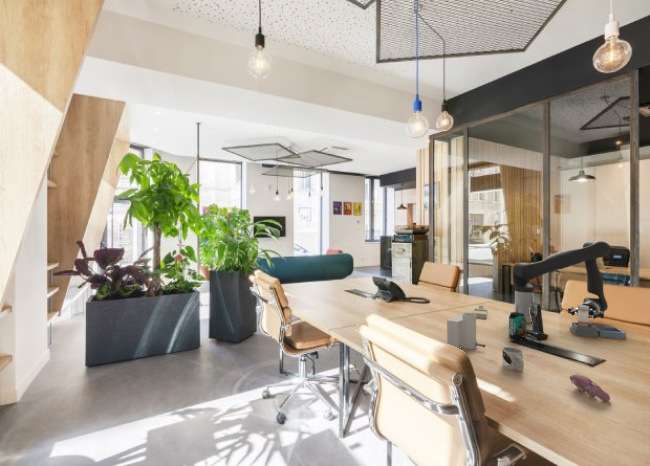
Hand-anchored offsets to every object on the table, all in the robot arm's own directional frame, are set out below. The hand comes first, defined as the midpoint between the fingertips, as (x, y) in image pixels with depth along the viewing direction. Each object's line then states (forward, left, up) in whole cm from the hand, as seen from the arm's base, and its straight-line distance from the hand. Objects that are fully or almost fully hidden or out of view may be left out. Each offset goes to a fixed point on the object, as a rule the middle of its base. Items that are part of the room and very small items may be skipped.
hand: (583, 314), depth 159 cm
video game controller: (-18, -70, -10) cm, 73 cm away
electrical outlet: (-45, +22, -10) cm, 51 cm away
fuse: (0, 0, -8) cm, 8 cm away
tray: (+11, +3, -10) cm, 15 cm away
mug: (-37, -58, -10) cm, 69 cm away
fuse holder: (0, 0, -10) cm, 10 cm away
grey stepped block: (-53, -40, -10) cm, 67 cm away
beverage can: (-31, -19, -10) cm, 38 cm away
